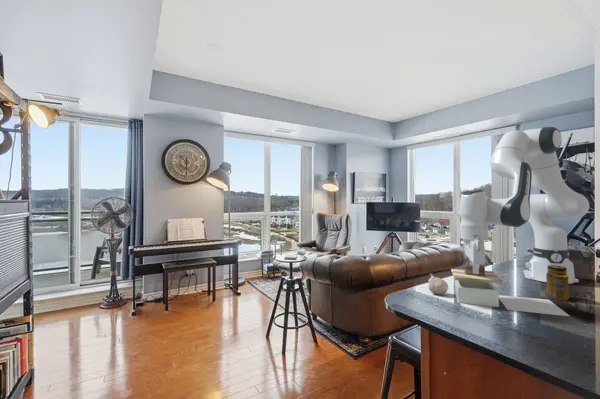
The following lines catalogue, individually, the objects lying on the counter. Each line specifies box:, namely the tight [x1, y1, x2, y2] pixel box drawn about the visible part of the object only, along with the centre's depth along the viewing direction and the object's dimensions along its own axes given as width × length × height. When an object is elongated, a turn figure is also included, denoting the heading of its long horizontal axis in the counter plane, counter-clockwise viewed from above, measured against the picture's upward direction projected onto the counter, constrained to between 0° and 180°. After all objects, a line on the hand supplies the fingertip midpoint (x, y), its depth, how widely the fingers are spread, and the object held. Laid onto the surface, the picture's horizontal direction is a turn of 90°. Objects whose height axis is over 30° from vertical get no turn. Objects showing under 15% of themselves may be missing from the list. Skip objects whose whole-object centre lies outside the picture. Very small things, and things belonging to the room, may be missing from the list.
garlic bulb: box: [427, 272, 449, 295], centre depth 114 cm, size 7×6×8 cm
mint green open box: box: [454, 279, 500, 308], centre depth 105 cm, size 12×12×6 cm
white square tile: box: [499, 294, 570, 317], centre depth 99 cm, size 16×16×1 cm
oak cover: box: [450, 264, 503, 285], centre depth 105 cm, size 14×14×4 cm
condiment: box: [545, 265, 570, 301], centre depth 105 cm, size 7×8×12 cm
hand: (474, 272), depth 105 cm, fingers closed on oak cover, 3 cm apart
